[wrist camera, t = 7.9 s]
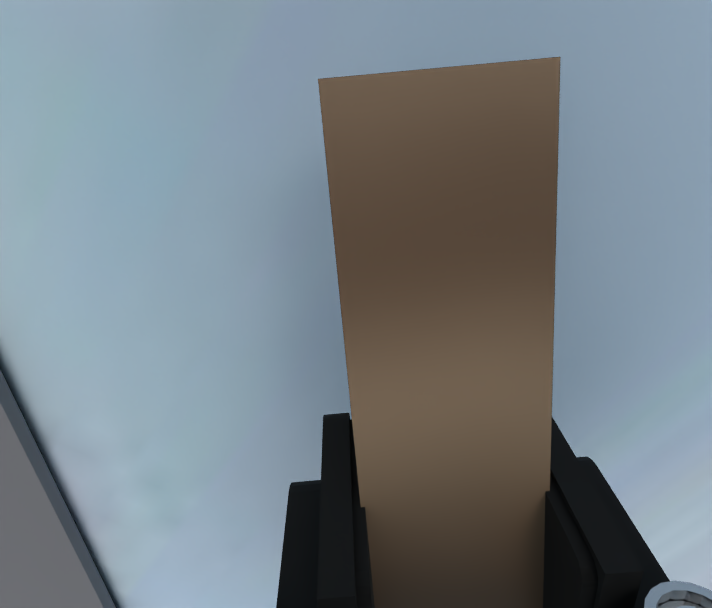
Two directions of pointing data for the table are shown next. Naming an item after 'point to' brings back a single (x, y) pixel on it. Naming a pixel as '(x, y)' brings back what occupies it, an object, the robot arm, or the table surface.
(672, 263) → the table surface
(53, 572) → the tool mat
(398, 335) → the wooden beam
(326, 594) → the robot arm
